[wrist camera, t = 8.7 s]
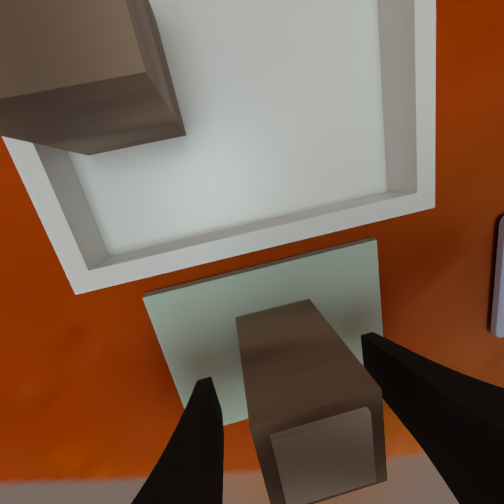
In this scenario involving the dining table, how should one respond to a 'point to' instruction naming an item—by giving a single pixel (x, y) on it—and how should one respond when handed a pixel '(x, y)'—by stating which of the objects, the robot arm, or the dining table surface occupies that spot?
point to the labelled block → (309, 406)
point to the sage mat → (257, 299)
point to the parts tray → (253, 139)
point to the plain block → (85, 75)
